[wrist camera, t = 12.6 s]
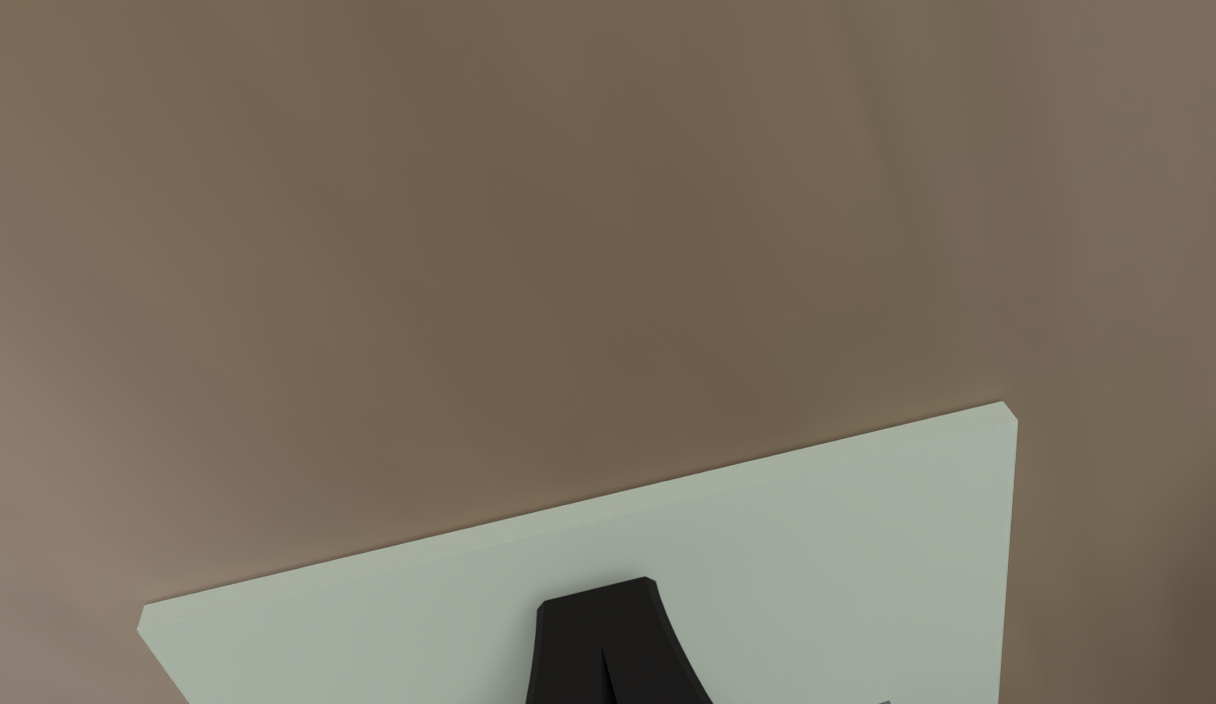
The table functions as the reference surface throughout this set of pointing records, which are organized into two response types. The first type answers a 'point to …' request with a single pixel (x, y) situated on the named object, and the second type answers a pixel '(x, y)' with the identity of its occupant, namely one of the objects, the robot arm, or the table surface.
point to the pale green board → (686, 579)
